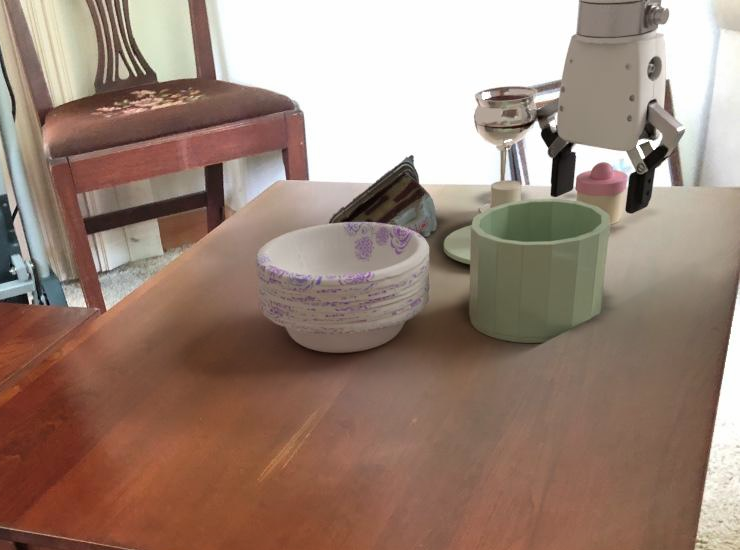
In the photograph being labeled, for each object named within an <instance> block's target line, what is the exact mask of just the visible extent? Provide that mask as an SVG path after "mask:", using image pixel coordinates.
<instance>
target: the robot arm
mask: <svg viewBox="0 0 740 550" xmlns="http://www.w3.org/2000/svg"><path fill="white" fill-rule="evenodd" d="M669 17H670V10H669V8H667V7H663V6H662V0H578V6H577V17H576V31H575V34H573V35H572V36H571V37H570V41H569V44H568V47H567V52H566V55H565V60H564V64H563V65H564V66H563V70H562V76H561V82H560V88H559V96H558V97H557V98H555V99H553V100H551V101H549V102H547V103H546V104H544V105H542V106H540V107H537V119H536V120H537V122H538V126H539V129H540V130H541V131H540V137H541V139H542V140H543V142H544V145H546V147H547V156H548V157H549V158H550V159H551V173H550V185H551V186H550V197H553V198H557V197H560V196H563V195H565V194H567V193H570V192H572V191H573V190H574V184H575V175H576V174H575V173H576V162H577V154H576V153H577V152H576V151H572V150H573V149H574V147H575V146H576V145H581V146H588V147H593V148H600V149H605V150H611V151H616V152H626V154H627V156H628V159H629V160H630V162H631V164H632V166H633V168H634V170H635V171H633V172H631V173H629V176H628V182H627V183H628V185H627V193H626V201H625V207H624V210H625V213H627V214H632V215H633V214H634V213H637V212H639V211H641V210H643V209H645V208H647V207H648V206H649V204H650V201H651V199H652V194H653V187H654V180H655V173H656V169H657V168H660V167H661V165H662V164H663V162H665V161H666V160H667V159H668V158H669V157H671V156H672V155H673V154H674V151H675V148H676V147H677V146H678V144H679V143H680V141H681V139H682V138H683V136H684V135H685V132H686V128H685V126H684V125H683V124H682V123H681V122H679V121H678V120H677V119H676V118H675V117H674V116H673V115H671V114H670V113H669V112H668V111H667V110H666V109H665V99H666V98H665V97H666V82H667V80H666V77H667V55H666V42H665V34H664V33H658V32H657V31H658V28H659V25H663V26H664V25H666V23H667V22H668V21H669ZM556 116H557V117H556ZM660 136H661V140H660V142H659V144H658V146H657V145H655V142H654V141H656V140H658V139H659V137H660ZM656 146H657V147H656Z"/></svg>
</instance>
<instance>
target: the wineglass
mask: <svg viewBox="0 0 740 550" xmlns="http://www.w3.org/2000/svg"><path fill="white" fill-rule="evenodd" d="M538 93H539V91H538V89H536V88H534V87H530V86H521V85H507V86H498V87H492V88H487V89H483V90H481V91H478V92H476V93H475V94H474V98H475V102H476V103H477V105H476V106H475V108H474V112H473V120H474V126H475V129H476V132H477V134H478V135H479V136H480V137H481V138H482V139H483V140H484V141H486V142H487V143H488V144H491V145H493V146H495V148H496V149H497V150H498V151H499V181H506V174H507V161H508V151H509V150H511V148H512V146H513V145H514V144H516V143H518V142H520V141H522V140H523V139H524V138H526V136H527V135H528V134H529V133H530V132H531V130H532V129H533V128H534V127H535V123H536V122H537V120H538V119H537V109H538V107H537V104H536V103H535V99H536V96H537V94H538ZM487 209H490V203H486V204H484V205H482V206H481V207H480V208H479V212H480V213H482V212H483V211H484V210H487Z"/></svg>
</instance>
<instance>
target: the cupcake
mask: <svg viewBox="0 0 740 550" xmlns="http://www.w3.org/2000/svg"><path fill="white" fill-rule="evenodd" d="M627 183H628V174H627V173H626V172H623V171H621V170H616V169H614V168H613V166H612V164H610V163H609V162H605V161H601V162H598V163H596V164H595V165H594V166H593V167H592V169H591V170H587V171H583V172H581V173H579V174H578V175H576V178H575V191H576V199H575V201H580V202H583V203H587V204H590V205H594V206H597V207H599V208H601V209H602V210H603V211H605V212H606V213H608V214H609V217H610V226H611V225H614V224H617V223H618V222H620V221H621V218H622V209H623V202H624V201H623V200H624V192H625V191H626V189H627Z"/></svg>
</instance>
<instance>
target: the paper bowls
mask: <svg viewBox="0 0 740 550" xmlns="http://www.w3.org/2000/svg"><path fill="white" fill-rule="evenodd" d="M255 268H256V275H257V289H258V290H257V291H258V296H259V305H260V309H261V312H262V315H264V316H265V317H266V318H267V319H268V320H270V321H271V322H272V323H274V324H276V325H278V326H281V327H282V328H284V329H285V330H286V331H287V333H288V335H289V336H290V338H291V339H292V340H293V341H295V342H296V344H298V345H300V346H302V347H304V348H307V349H309V350H313V351H317V352H322V353H330V354H346V353H347V354H348V353H356V352H363V351H367V350H371V349H374V348H377V347H379V346H382V345H384V344H386V343H388V342H389V341H392V340H393V339H394V338H395V337H396V336H397V335H398V334H399V333H400V331H402V330H403V329H402V328H403V327H404V325H405V323H406V321H409V320H410V319H412V318H414V317H415V316H417V315H418V314H419V313H421V312H422V311H423V310H424V309H425V308H426V306H427V305H428V303H429V302H430V246H429V243H428V241H427V240H426V237H424V236H422V235H421V234H419V233H417V232H415V231H413V230H410V229H408V228H404V227H400V226H396V225H390V224H385V223H375V222H343V223H331V224H328V223H323V224H316V225H311V226H307V227H303V228H297V229H295V230H291V231H289V232H286V233H283V234H280V235H278V236H276V237H274V238H272V239H270V240H269V241H267V242H266V243H265V244H263V245H262V246H261V247H260V248H259V250H258V251H257V254H256V257H255Z"/></svg>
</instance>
